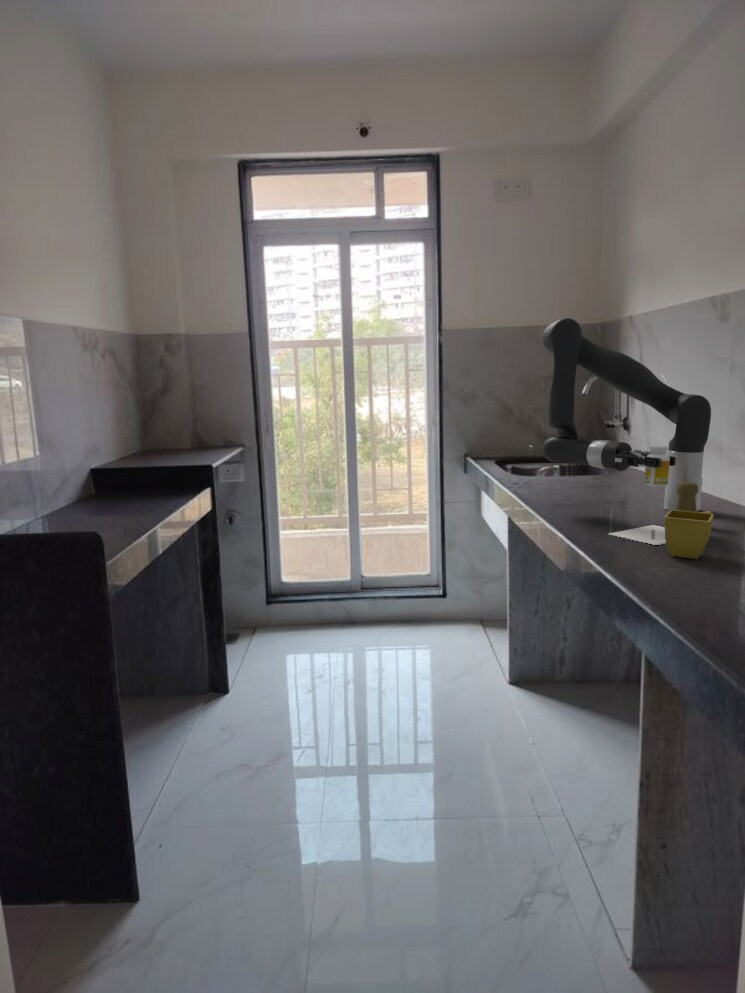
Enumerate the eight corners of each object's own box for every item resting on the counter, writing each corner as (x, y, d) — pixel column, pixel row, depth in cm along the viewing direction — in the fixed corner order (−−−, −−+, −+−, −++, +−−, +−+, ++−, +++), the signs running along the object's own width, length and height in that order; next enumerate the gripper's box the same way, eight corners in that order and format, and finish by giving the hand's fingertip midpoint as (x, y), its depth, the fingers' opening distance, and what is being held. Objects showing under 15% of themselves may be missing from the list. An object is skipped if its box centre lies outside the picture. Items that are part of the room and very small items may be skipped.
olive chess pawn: (699, 526, 170) (703, 484, 168) (674, 525, 171) (678, 483, 169) (693, 521, 175) (697, 480, 174) (669, 520, 177) (672, 480, 175)
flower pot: (706, 563, 135) (710, 521, 134) (660, 557, 140) (664, 516, 138) (710, 554, 143) (714, 513, 141) (667, 548, 147) (670, 509, 146)
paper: (652, 526, 170) (652, 524, 170) (700, 535, 159) (700, 534, 159) (608, 534, 160) (608, 533, 160) (655, 546, 149) (656, 544, 149)
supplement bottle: (671, 485, 162) (674, 446, 161) (662, 487, 159) (665, 447, 157) (649, 482, 166) (652, 444, 164) (640, 485, 162) (643, 446, 161)
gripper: (592, 442, 169) (650, 448, 155) (627, 439, 176) (686, 445, 162) (590, 471, 170) (648, 480, 156) (625, 467, 178) (683, 475, 164)
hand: (667, 462), depth 159 cm, fingers closed on supplement bottle, 5 cm apart
